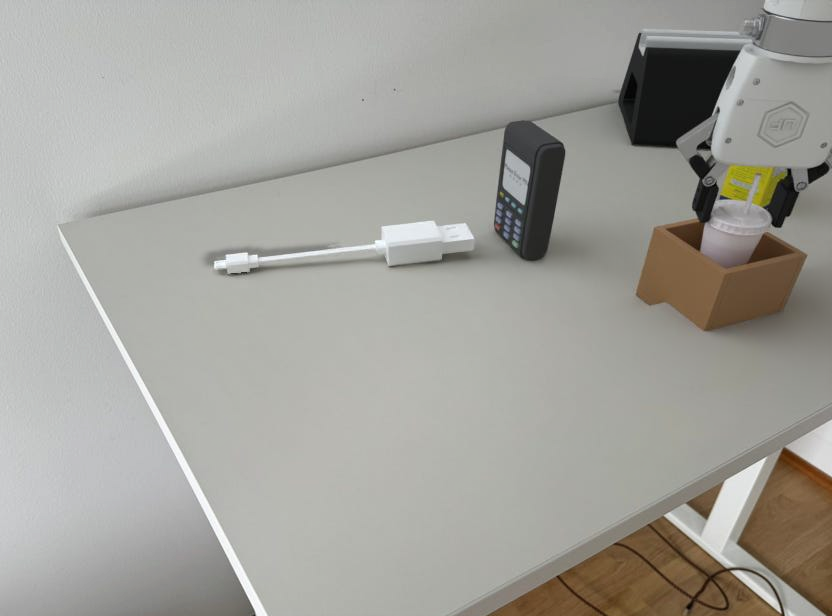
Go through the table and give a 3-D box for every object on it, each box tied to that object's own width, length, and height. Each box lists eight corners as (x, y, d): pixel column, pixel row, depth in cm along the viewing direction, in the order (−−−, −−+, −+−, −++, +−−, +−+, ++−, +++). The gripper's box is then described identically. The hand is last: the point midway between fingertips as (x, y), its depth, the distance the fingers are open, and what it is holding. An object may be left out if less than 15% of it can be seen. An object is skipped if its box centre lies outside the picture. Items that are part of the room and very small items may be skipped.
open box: (708, 277, 86) (731, 210, 80) (777, 324, 78) (808, 254, 72) (635, 294, 83) (654, 226, 77) (698, 345, 75) (725, 274, 70)
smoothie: (726, 314, 75) (772, 192, 67) (669, 291, 79) (706, 172, 70) (752, 292, 79) (800, 172, 70) (697, 270, 82) (735, 154, 74)
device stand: (777, 154, 114) (813, 57, 105) (632, 146, 118) (655, 51, 109) (743, 107, 132) (772, 20, 122) (617, 101, 135) (636, 16, 126)
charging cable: (217, 267, 91) (212, 244, 89) (463, 238, 93) (465, 215, 91) (216, 288, 87) (211, 264, 85) (474, 257, 89) (475, 234, 87)
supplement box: (739, 188, 105) (765, 115, 98) (779, 203, 101) (809, 127, 94) (716, 199, 102) (741, 124, 95) (756, 215, 98) (785, 137, 91)
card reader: (487, 230, 95) (500, 120, 86) (514, 226, 96) (530, 116, 87) (520, 263, 89) (538, 147, 79) (549, 258, 90) (570, 143, 80)
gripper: (707, 42, 61) (654, 230, 72) (930, 49, 58) (840, 243, 69) (690, 21, 66) (644, 198, 78) (892, 26, 64) (814, 209, 75)
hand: (737, 218), depth 73 cm, fingers closed on smoothie, 6 cm apart
